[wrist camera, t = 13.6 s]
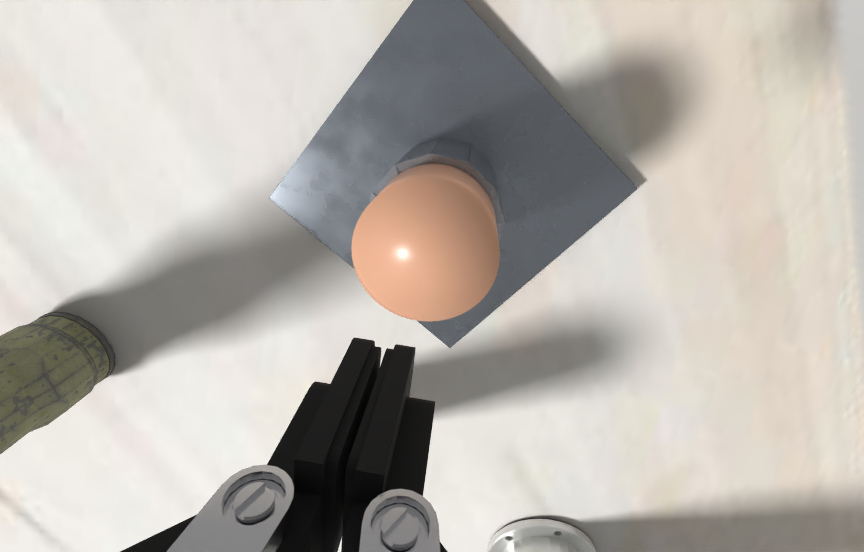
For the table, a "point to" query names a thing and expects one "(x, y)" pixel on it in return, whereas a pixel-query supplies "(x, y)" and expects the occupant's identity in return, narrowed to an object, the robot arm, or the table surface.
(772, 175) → the table surface
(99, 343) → the thermos
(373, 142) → the square base post stand
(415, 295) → the cap
